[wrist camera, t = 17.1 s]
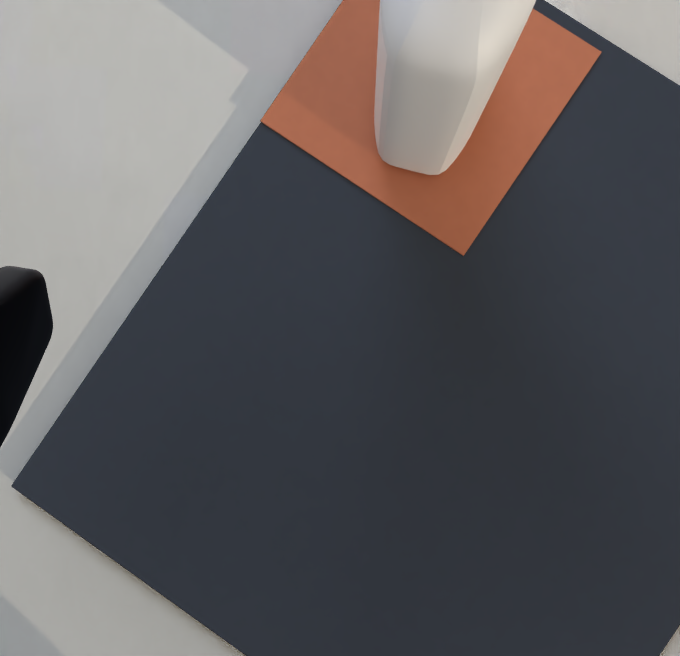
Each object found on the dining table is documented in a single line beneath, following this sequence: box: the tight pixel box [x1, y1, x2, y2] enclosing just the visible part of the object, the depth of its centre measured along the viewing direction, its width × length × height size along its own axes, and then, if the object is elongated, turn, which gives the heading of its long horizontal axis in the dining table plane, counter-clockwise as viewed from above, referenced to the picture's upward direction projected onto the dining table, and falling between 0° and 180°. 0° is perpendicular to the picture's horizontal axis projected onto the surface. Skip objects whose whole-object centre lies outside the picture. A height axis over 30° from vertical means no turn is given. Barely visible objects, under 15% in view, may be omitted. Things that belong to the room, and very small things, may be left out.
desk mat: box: [12, 0, 680, 656], centre depth 20 cm, size 20×23×1 cm
